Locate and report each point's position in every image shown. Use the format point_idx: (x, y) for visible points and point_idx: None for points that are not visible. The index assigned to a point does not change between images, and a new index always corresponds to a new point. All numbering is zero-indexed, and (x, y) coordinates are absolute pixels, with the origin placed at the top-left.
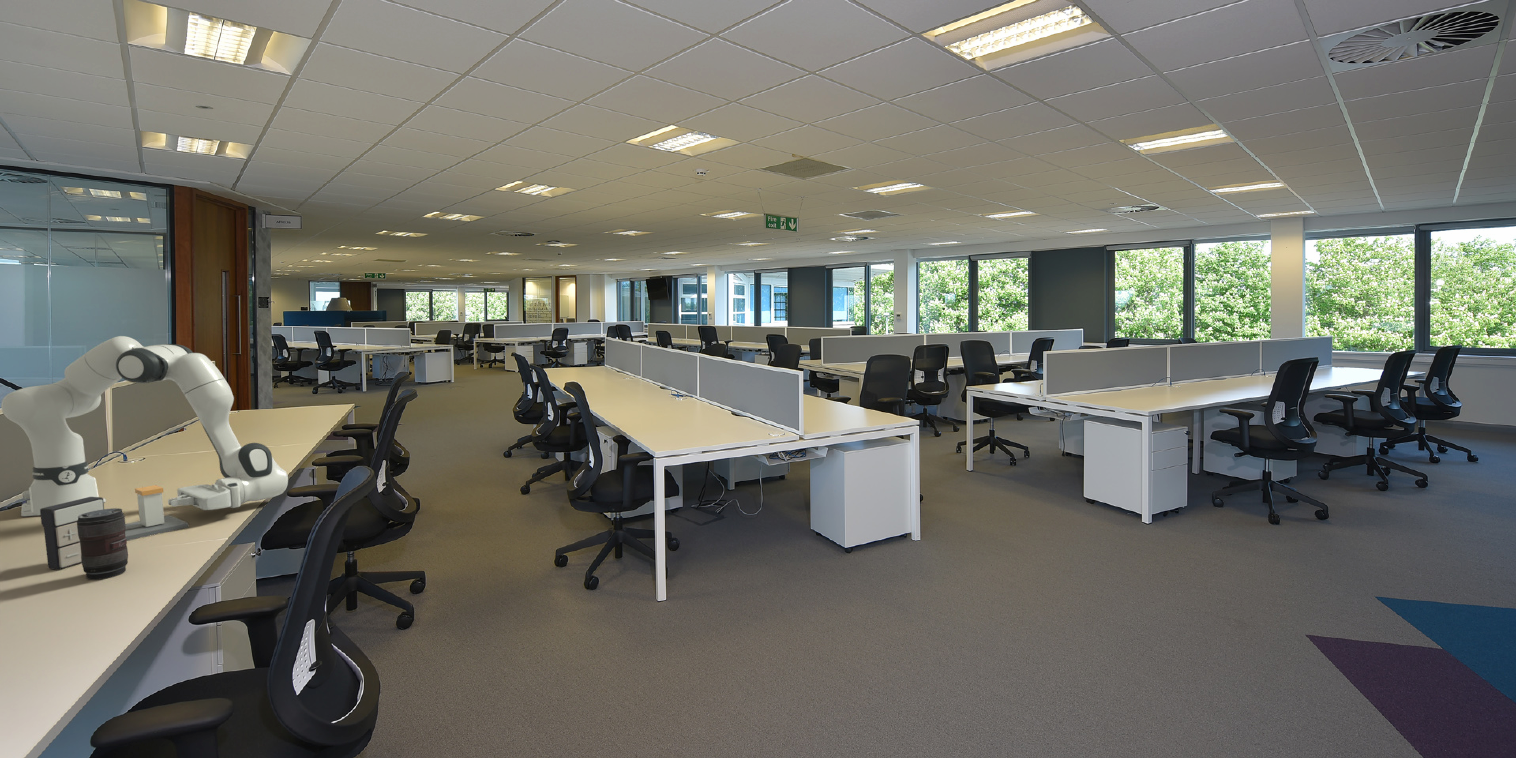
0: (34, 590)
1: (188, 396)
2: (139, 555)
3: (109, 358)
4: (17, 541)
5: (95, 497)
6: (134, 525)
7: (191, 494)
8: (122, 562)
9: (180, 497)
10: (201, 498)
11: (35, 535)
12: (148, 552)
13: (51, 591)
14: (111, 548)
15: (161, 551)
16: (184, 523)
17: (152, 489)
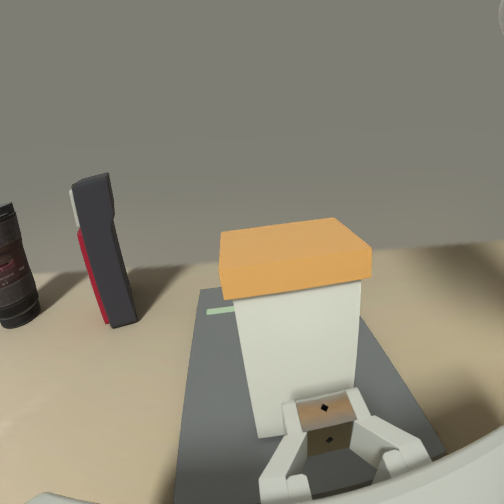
0: (62, 280)
1: None
2: (42, 354)
3: None
4: (383, 252)
5: (85, 180)
6: None
7: (311, 500)
8: None
9: (381, 443)
10: (63, 496)
11: (415, 260)
12: (40, 366)
13: (39, 287)
14: None
15: (18, 378)
16: (185, 495)
17: (232, 247)
